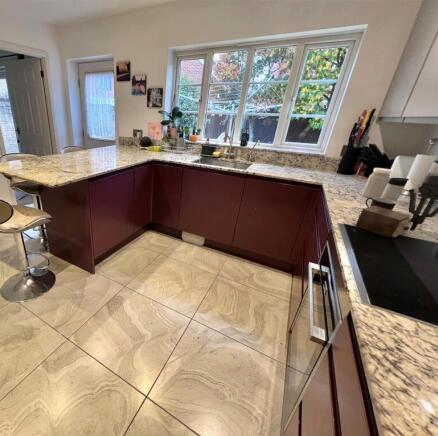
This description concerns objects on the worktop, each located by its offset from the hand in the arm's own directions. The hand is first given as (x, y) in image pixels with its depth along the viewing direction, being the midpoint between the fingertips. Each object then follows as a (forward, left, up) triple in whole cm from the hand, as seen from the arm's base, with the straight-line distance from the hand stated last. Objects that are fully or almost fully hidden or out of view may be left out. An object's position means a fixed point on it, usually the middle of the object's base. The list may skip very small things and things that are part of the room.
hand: (411, 230), depth 98 cm
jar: (+33, -56, -4) cm, 65 cm away
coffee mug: (+16, -13, -4) cm, 21 cm away
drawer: (+7, +3, -3) cm, 8 cm away
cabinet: (+9, +3, -4) cm, 10 cm away
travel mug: (+16, -22, -4) cm, 28 cm away
